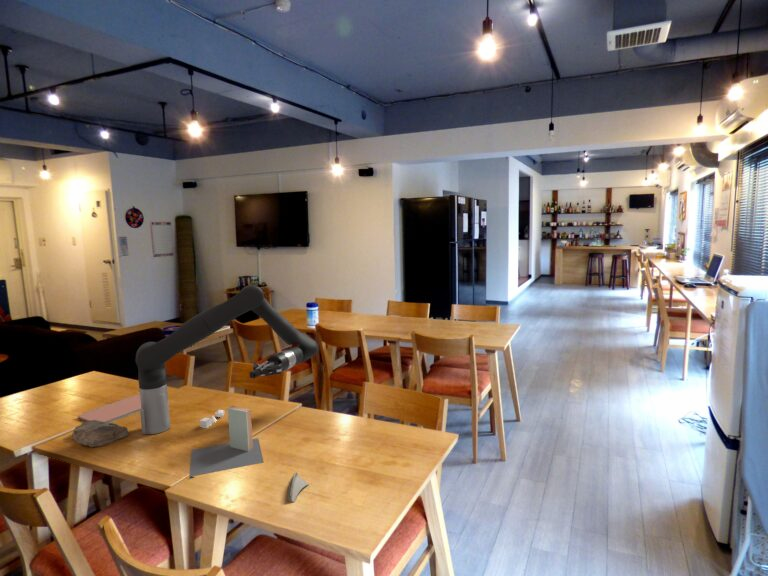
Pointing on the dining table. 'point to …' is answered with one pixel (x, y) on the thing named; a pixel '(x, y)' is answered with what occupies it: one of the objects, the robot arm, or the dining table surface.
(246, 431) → the tile
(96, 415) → the notebook
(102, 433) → the grey rock
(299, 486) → the ceramic fragment
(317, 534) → the dining table surface
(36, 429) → the dining table surface
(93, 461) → the dining table surface
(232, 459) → the mat
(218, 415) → the game pieces
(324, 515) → the dining table surface
